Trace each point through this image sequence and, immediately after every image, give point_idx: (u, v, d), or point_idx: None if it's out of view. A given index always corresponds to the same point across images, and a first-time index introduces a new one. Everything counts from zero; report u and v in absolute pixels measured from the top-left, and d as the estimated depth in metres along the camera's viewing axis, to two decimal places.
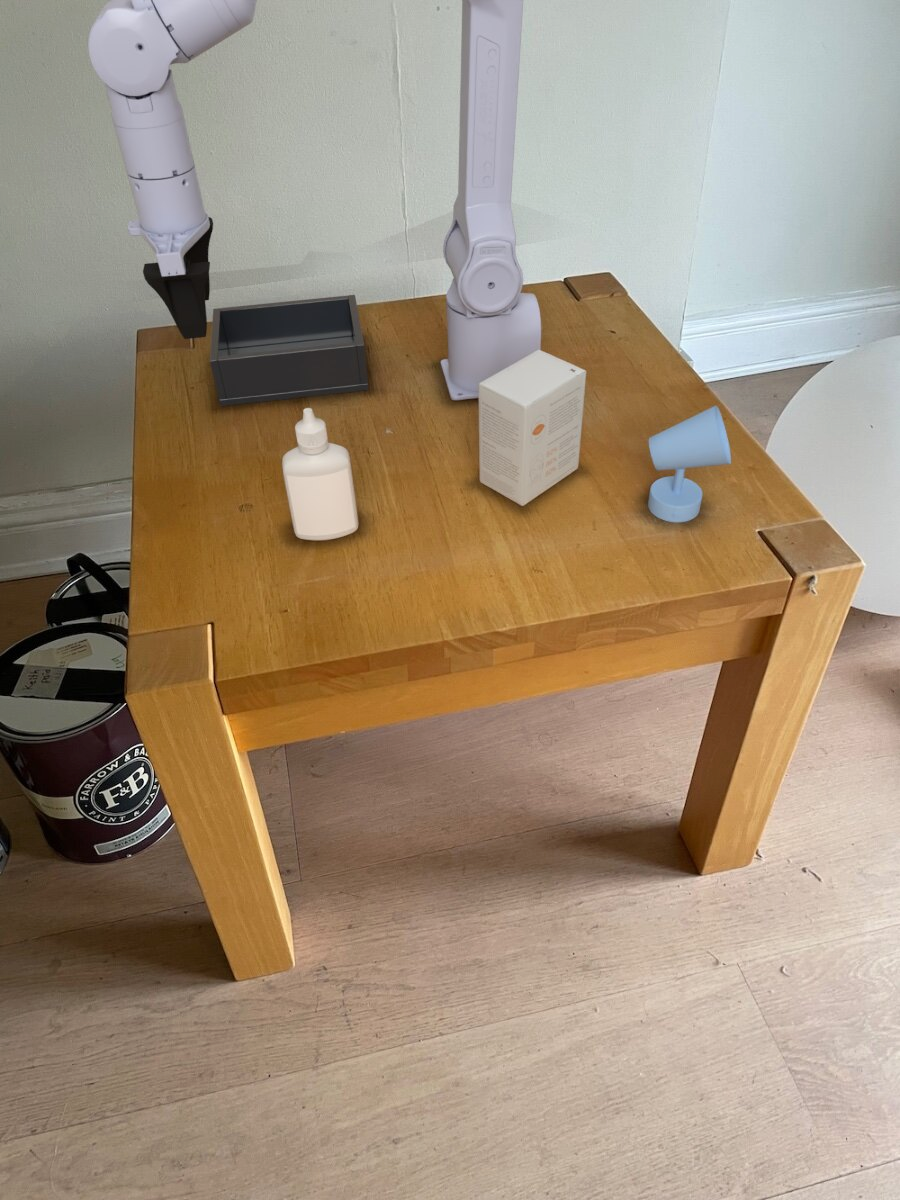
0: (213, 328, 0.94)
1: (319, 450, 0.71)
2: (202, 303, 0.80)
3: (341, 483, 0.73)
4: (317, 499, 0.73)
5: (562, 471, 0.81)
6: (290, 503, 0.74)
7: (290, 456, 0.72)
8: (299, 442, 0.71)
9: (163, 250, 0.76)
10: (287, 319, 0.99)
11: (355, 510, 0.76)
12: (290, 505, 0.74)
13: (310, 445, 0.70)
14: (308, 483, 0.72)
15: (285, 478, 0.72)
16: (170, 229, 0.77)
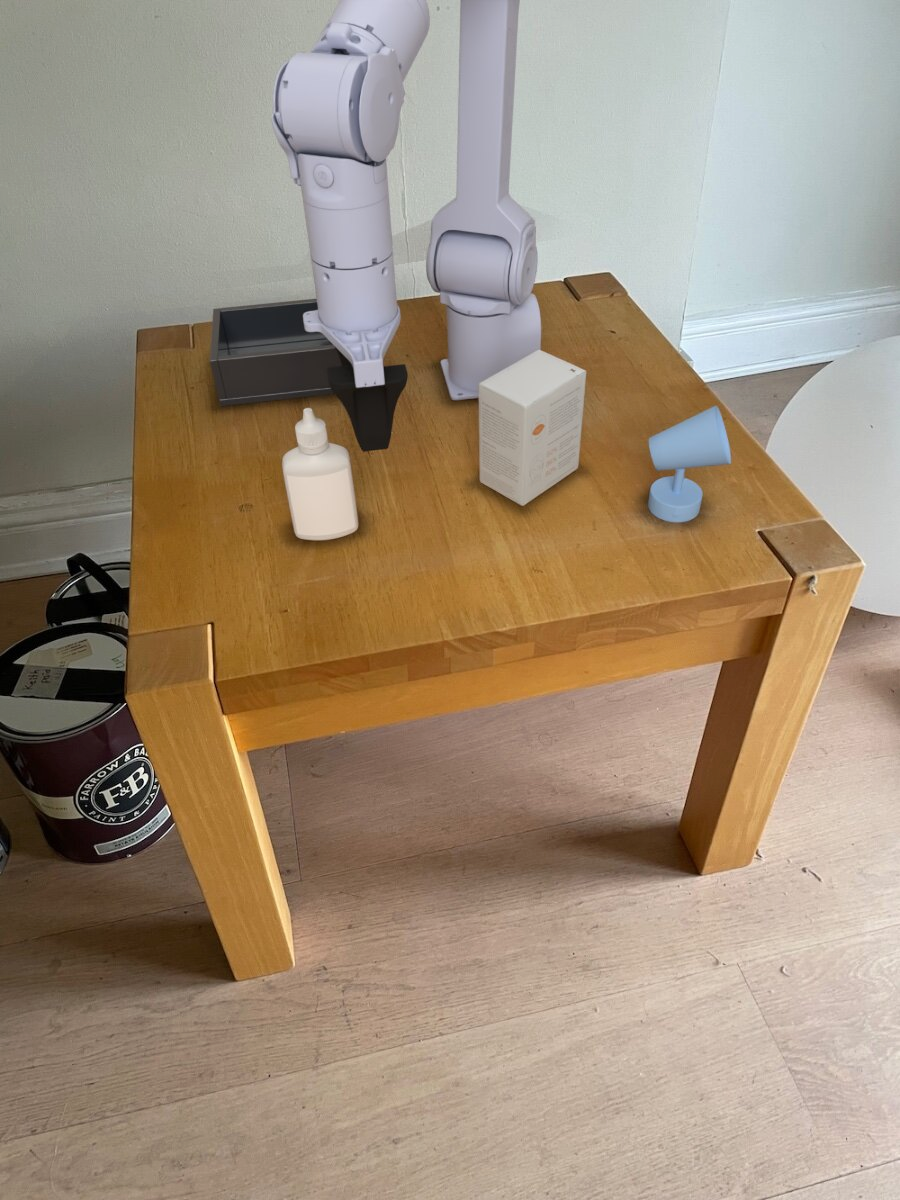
0: (213, 328, 0.94)
1: (319, 450, 0.71)
2: (392, 412, 0.65)
3: (341, 483, 0.73)
4: (317, 499, 0.73)
5: (562, 471, 0.81)
6: (290, 503, 0.74)
7: (290, 456, 0.72)
8: (299, 442, 0.71)
9: (357, 355, 0.61)
10: (287, 319, 0.99)
11: (355, 510, 0.76)
12: (290, 505, 0.74)
13: (310, 445, 0.70)
14: (308, 483, 0.72)
15: (285, 478, 0.72)
16: (361, 326, 0.62)
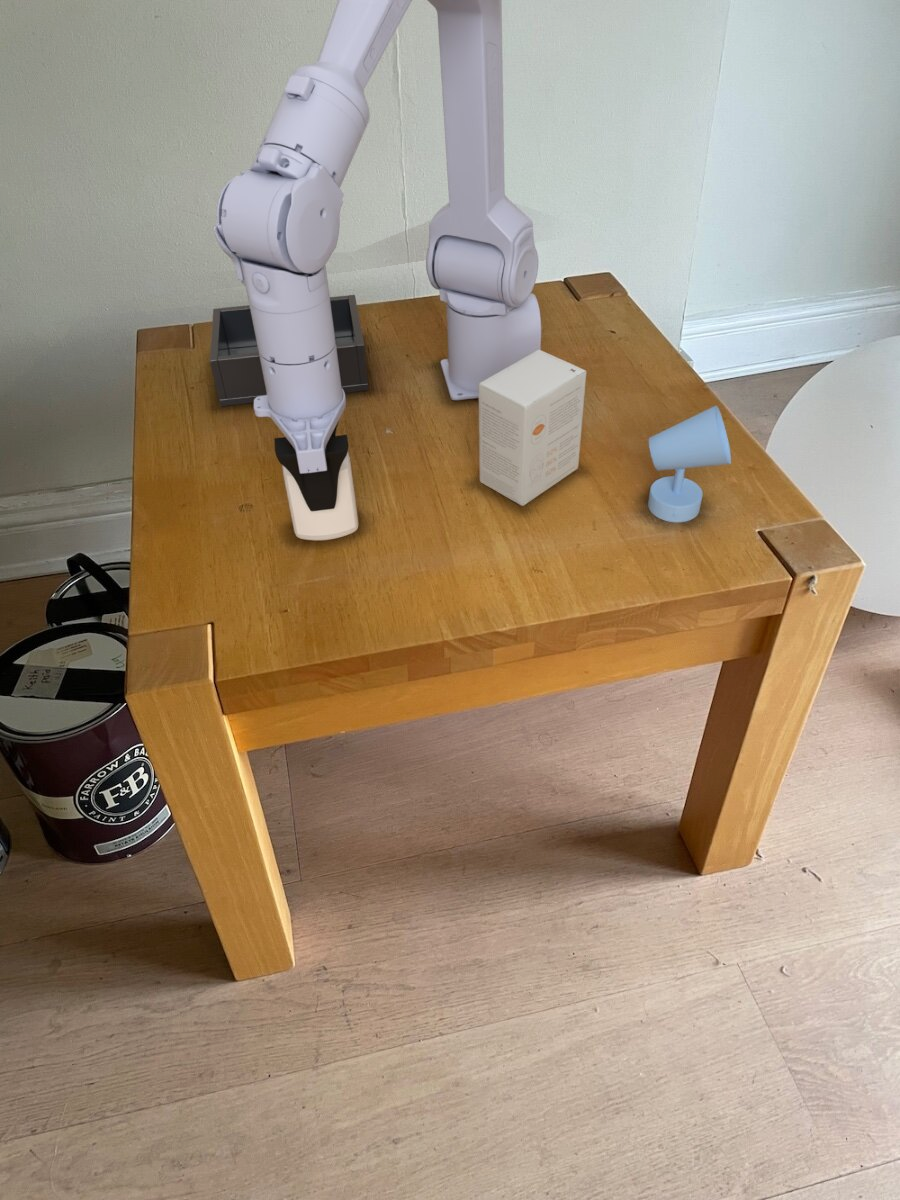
0: (213, 328, 0.94)
1: None
2: (336, 477, 0.71)
3: (341, 483, 0.73)
4: None
5: (562, 471, 0.81)
6: (290, 503, 0.74)
7: None
8: None
9: (301, 442, 0.65)
10: None
11: (355, 510, 0.76)
12: (290, 505, 0.74)
13: None
14: None
15: (285, 478, 0.72)
16: (306, 414, 0.66)
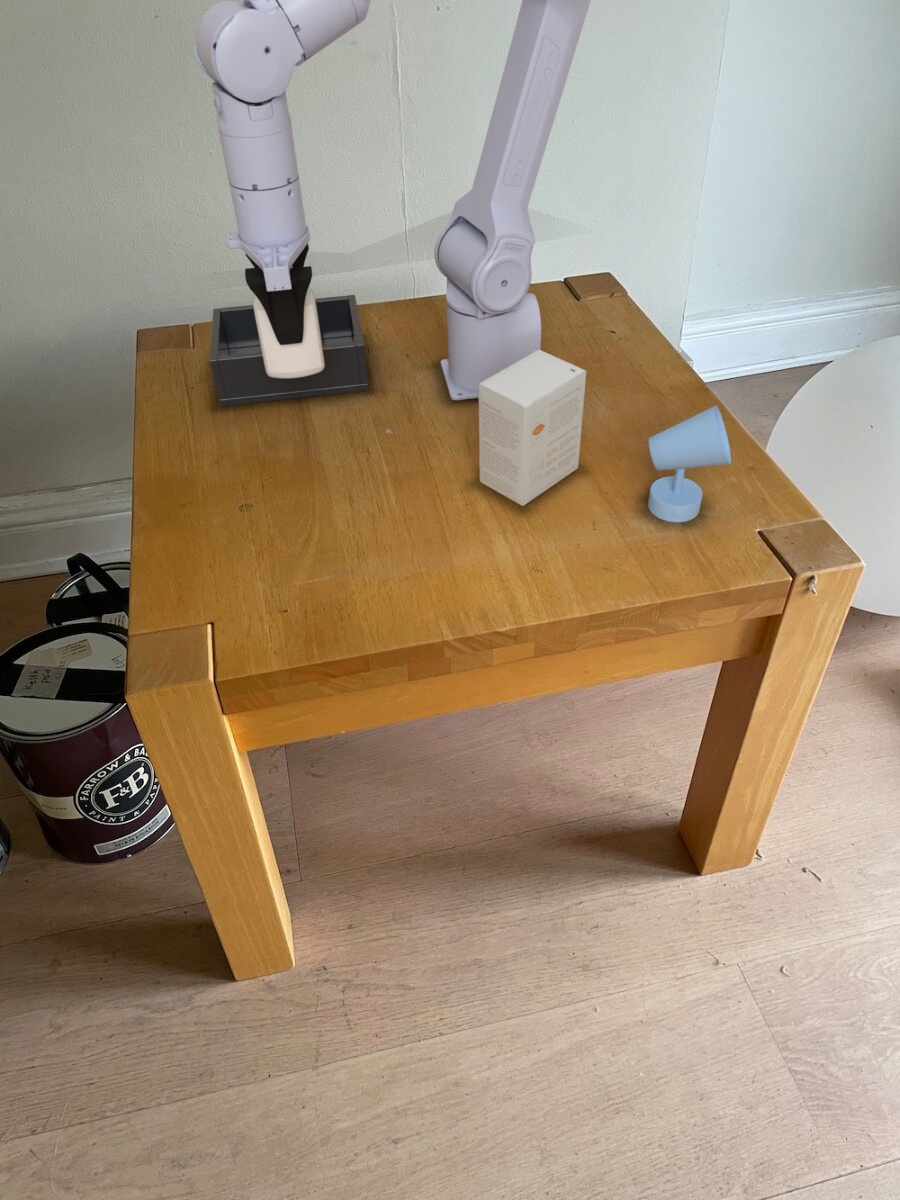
0: (213, 328, 0.94)
1: None
2: (302, 308, 0.78)
3: (307, 319, 0.80)
4: None
5: (562, 471, 0.81)
6: (261, 339, 0.81)
7: None
8: None
9: (268, 264, 0.72)
10: None
11: (321, 349, 0.83)
12: (261, 342, 0.81)
13: None
14: None
15: (255, 313, 0.80)
16: (273, 241, 0.74)
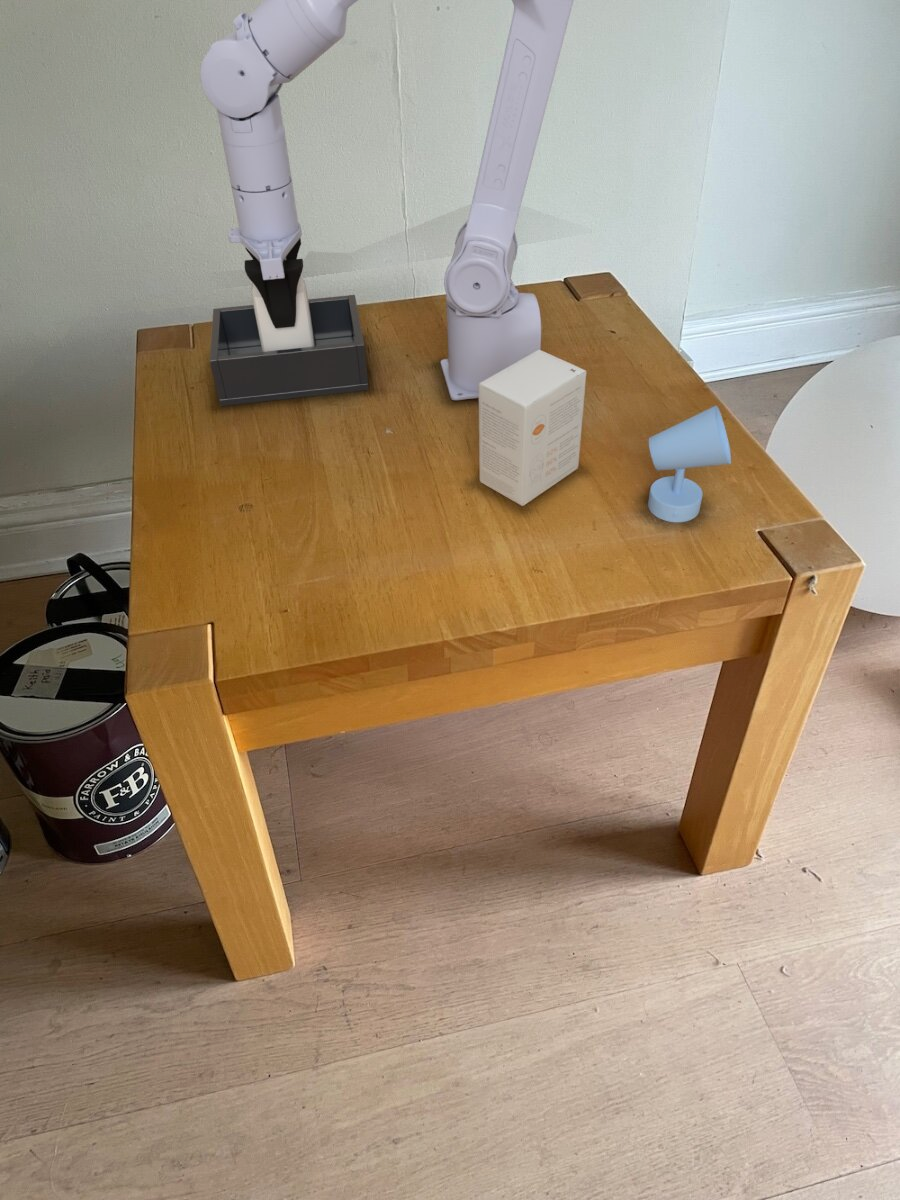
0: (213, 328, 0.94)
1: None
2: (294, 296, 0.89)
3: (299, 305, 0.91)
4: None
5: (562, 471, 0.81)
6: (258, 323, 0.92)
7: None
8: None
9: (264, 256, 0.83)
10: None
11: (311, 332, 0.94)
12: (258, 325, 0.92)
13: None
14: None
15: (253, 300, 0.90)
16: (269, 237, 0.84)
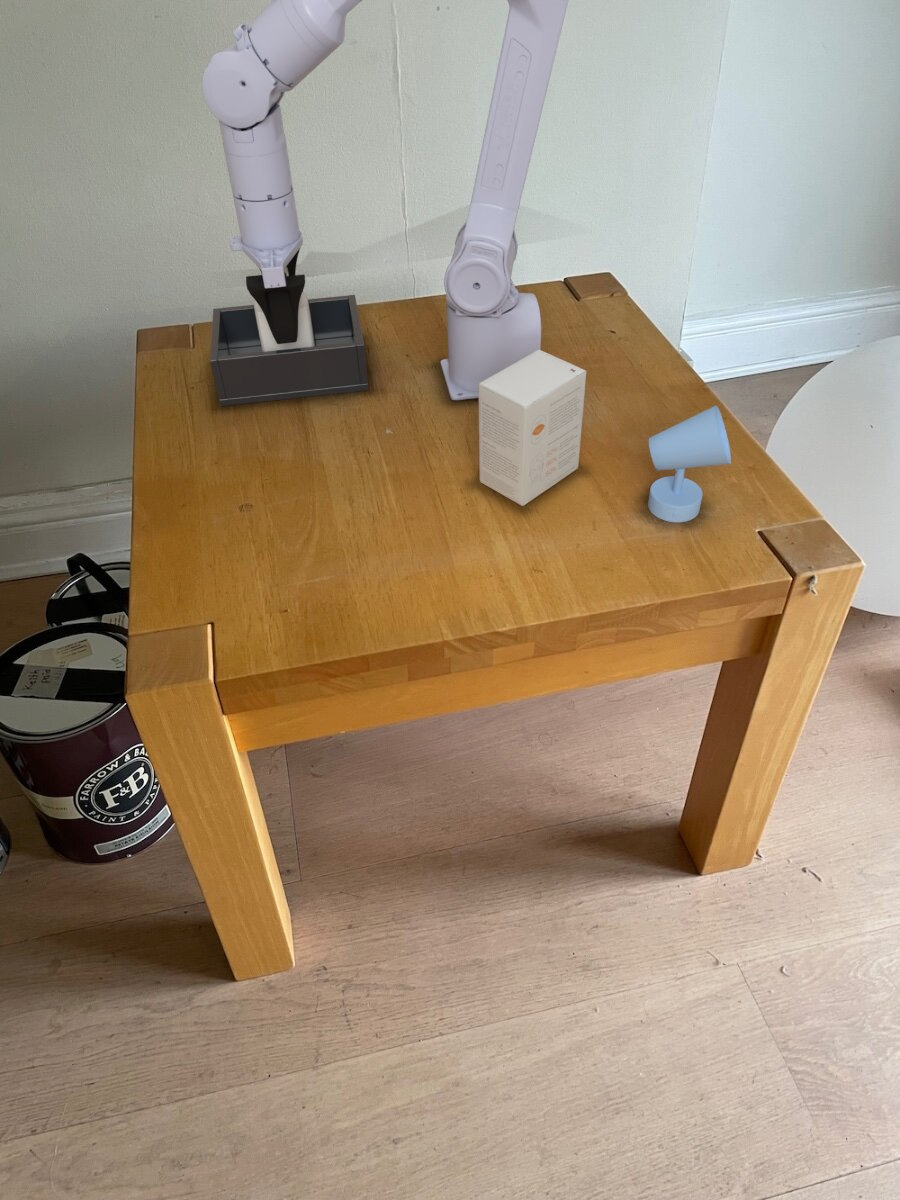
0: (213, 328, 0.94)
1: None
2: (296, 312, 0.88)
3: (301, 319, 0.92)
4: None
5: (562, 471, 0.81)
6: (261, 337, 0.93)
7: None
8: None
9: (266, 265, 0.84)
10: None
11: None
12: (261, 339, 0.93)
13: None
14: None
15: (256, 314, 0.92)
16: (270, 245, 0.85)
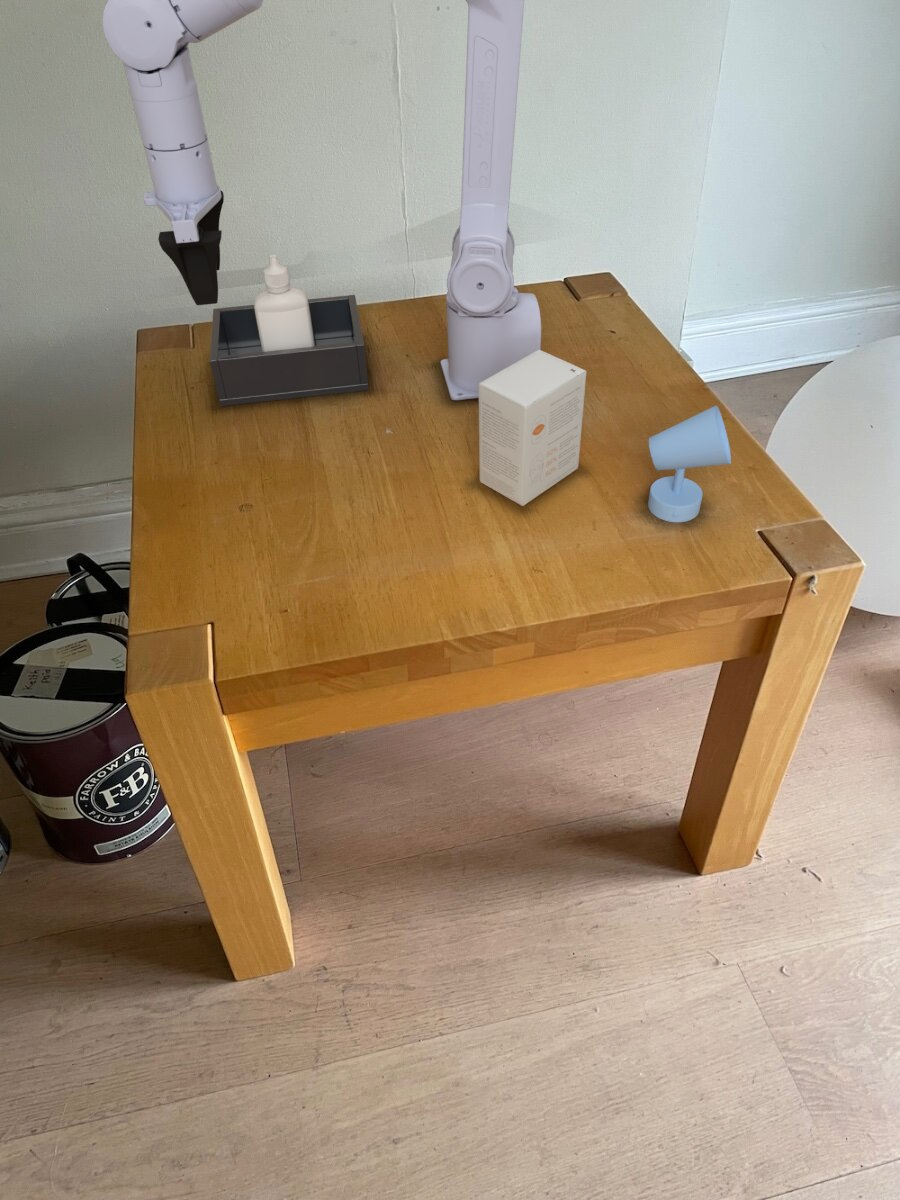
0: (213, 328, 0.94)
1: (283, 290, 0.90)
2: (214, 270, 0.84)
3: (301, 319, 0.92)
4: (282, 333, 0.93)
5: (562, 471, 0.81)
6: (261, 337, 0.93)
7: (260, 296, 0.91)
8: (267, 283, 0.90)
9: (178, 219, 0.80)
10: None
11: None
12: (261, 339, 0.93)
13: (275, 285, 0.90)
14: (274, 318, 0.91)
15: (256, 314, 0.92)
16: (184, 199, 0.81)
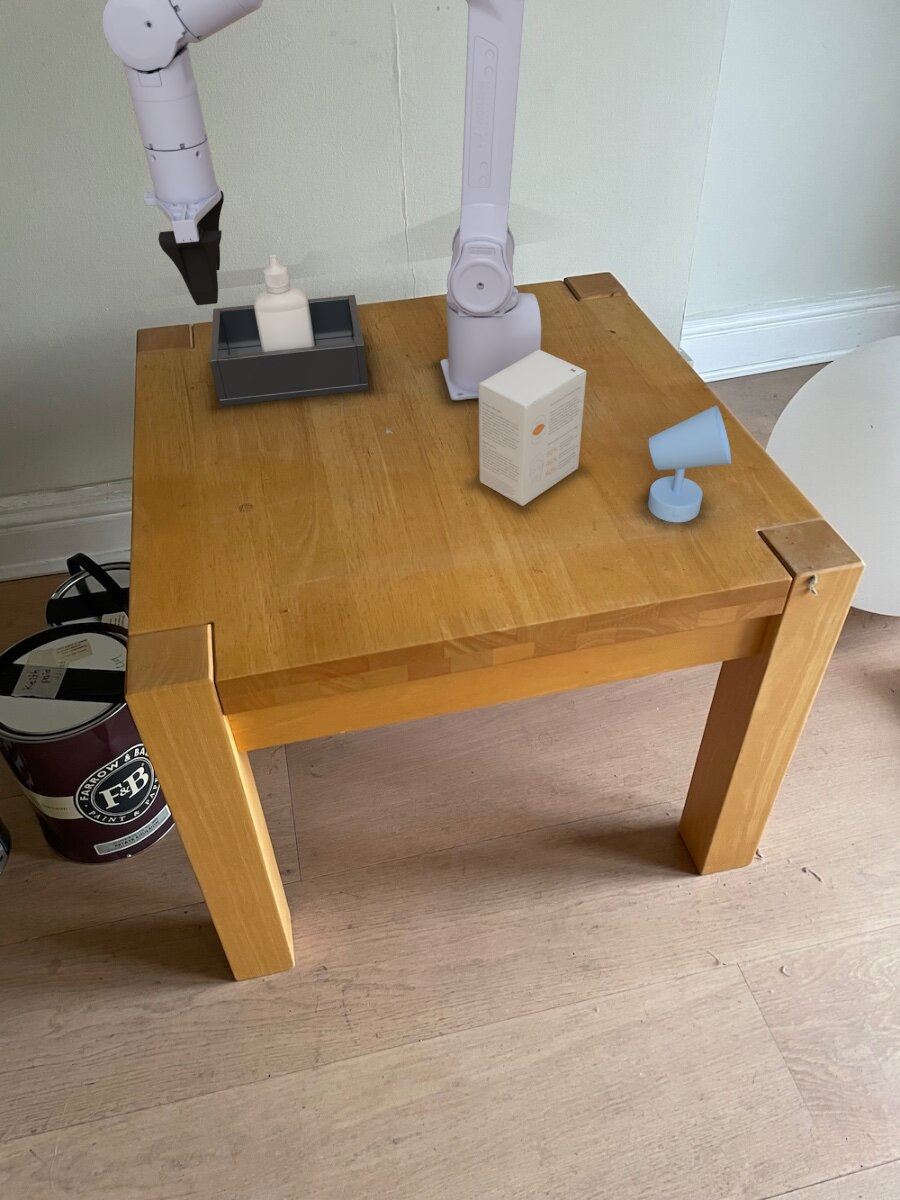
0: (213, 328, 0.94)
1: (283, 290, 0.90)
2: (214, 270, 0.84)
3: (301, 319, 0.92)
4: (282, 333, 0.93)
5: (562, 471, 0.81)
6: (261, 337, 0.93)
7: (260, 296, 0.91)
8: (267, 283, 0.90)
9: (178, 219, 0.80)
10: None
11: None
12: (261, 339, 0.93)
13: (275, 285, 0.90)
14: (274, 318, 0.91)
15: (256, 314, 0.92)
16: (184, 199, 0.81)
